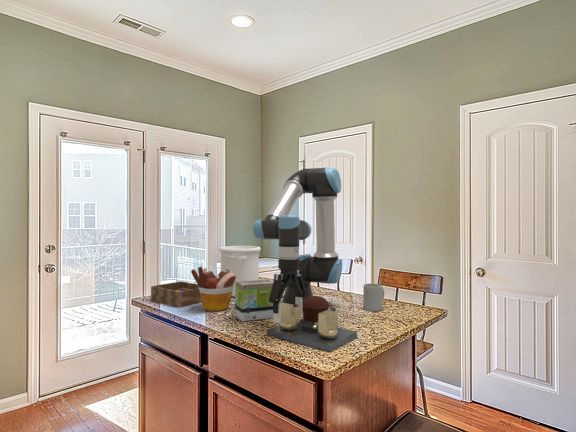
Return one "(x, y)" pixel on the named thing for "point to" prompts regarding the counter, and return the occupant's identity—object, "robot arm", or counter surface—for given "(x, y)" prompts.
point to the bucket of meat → (215, 288)
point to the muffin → (314, 307)
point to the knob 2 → (328, 323)
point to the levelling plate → (312, 336)
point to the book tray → (176, 294)
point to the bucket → (241, 262)
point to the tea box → (253, 300)
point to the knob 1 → (289, 316)
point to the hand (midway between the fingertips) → (288, 318)
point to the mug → (373, 297)
